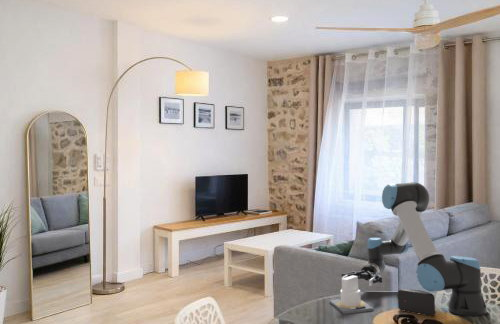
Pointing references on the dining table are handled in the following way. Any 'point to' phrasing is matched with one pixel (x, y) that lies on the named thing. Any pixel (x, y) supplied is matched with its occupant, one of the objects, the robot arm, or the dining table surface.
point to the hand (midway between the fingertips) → (355, 281)
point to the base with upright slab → (350, 291)
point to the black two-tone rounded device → (416, 301)
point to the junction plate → (349, 309)
